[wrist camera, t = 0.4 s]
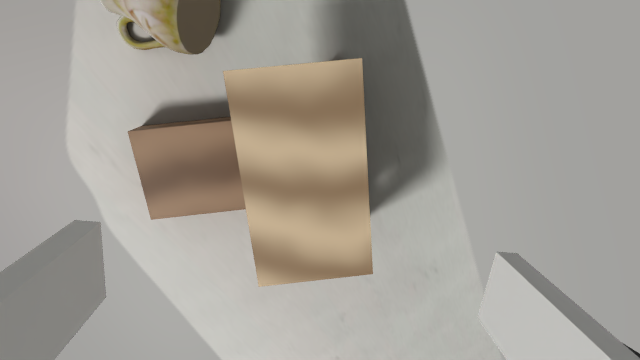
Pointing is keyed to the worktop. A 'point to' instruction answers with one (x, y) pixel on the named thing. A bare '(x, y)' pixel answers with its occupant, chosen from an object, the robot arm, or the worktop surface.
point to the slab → (188, 167)
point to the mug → (168, 22)
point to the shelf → (303, 168)
